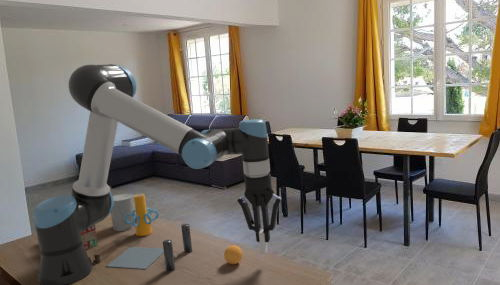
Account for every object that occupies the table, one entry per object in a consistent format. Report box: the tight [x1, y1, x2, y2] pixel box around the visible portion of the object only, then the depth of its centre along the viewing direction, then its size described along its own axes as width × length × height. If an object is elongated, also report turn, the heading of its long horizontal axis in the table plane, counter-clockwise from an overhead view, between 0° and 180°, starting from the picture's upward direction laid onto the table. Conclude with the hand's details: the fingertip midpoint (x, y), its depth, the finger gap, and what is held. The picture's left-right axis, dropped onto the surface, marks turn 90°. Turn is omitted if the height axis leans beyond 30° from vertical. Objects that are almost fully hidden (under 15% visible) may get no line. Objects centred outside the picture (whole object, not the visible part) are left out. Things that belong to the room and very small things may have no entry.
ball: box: [223, 244, 243, 265], centre depth 120 cm, size 6×6×6 cm
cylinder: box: [125, 193, 159, 237], centre depth 149 cm, size 12×10×15 cm
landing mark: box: [106, 246, 164, 270], centre depth 129 cm, size 14×14×1 cm
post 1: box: [162, 239, 176, 273], centre depth 119 cm, size 3×3×9 cm
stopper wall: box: [93, 242, 118, 263], centre depth 133 cm, size 2×9×2 cm, turn 164°
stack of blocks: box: [81, 224, 99, 250], centre depth 147 cm, size 21×6×12 cm, turn 45°
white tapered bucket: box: [110, 192, 136, 232], centre depth 158 cm, size 10×10×12 cm
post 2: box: [181, 223, 193, 254], centre depth 130 cm, size 3×3×9 cm
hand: (264, 251), depth 117 cm, fingers closed
